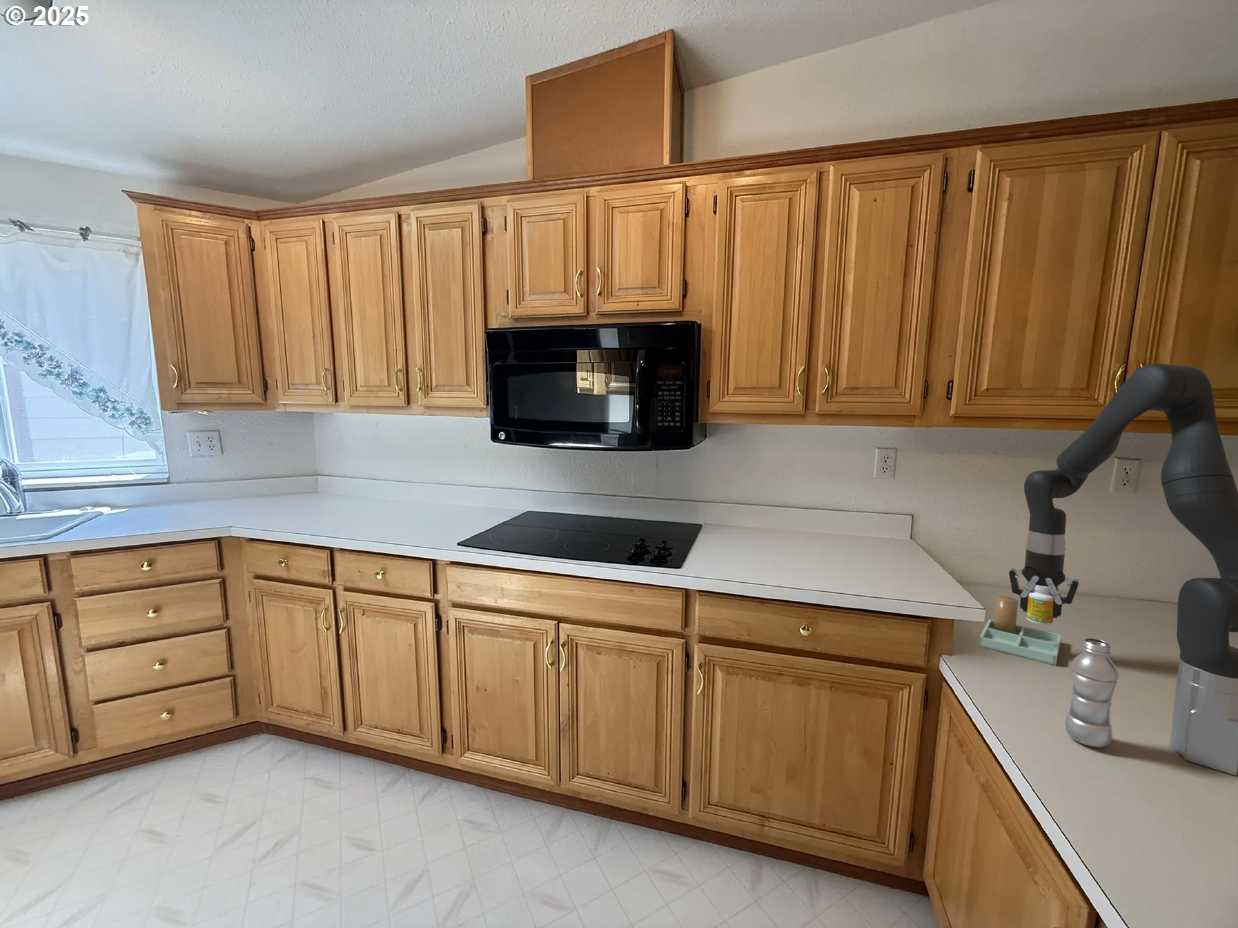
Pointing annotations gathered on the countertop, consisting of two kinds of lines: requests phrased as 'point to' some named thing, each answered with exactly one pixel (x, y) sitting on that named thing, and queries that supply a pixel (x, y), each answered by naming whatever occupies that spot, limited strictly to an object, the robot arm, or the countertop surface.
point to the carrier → (1022, 643)
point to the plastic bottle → (1092, 695)
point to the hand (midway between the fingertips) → (1040, 613)
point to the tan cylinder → (1005, 614)
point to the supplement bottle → (1040, 605)
